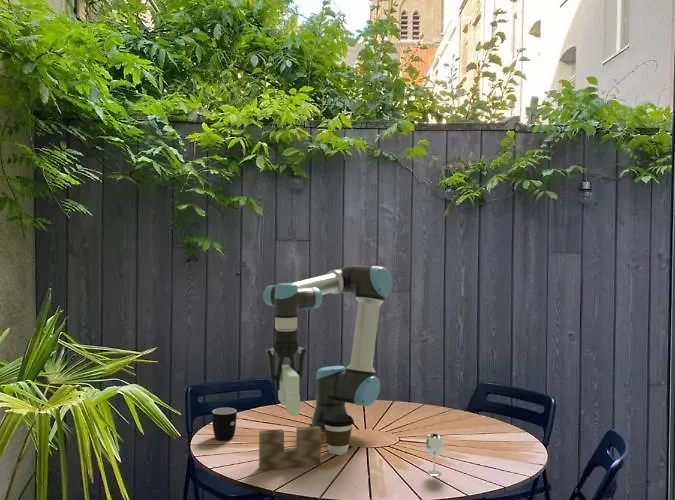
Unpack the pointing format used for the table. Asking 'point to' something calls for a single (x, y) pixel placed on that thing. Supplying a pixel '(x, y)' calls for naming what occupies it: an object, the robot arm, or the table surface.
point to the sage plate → (290, 390)
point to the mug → (224, 423)
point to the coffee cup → (338, 432)
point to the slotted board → (289, 449)
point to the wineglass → (434, 449)
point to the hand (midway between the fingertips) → (285, 399)
